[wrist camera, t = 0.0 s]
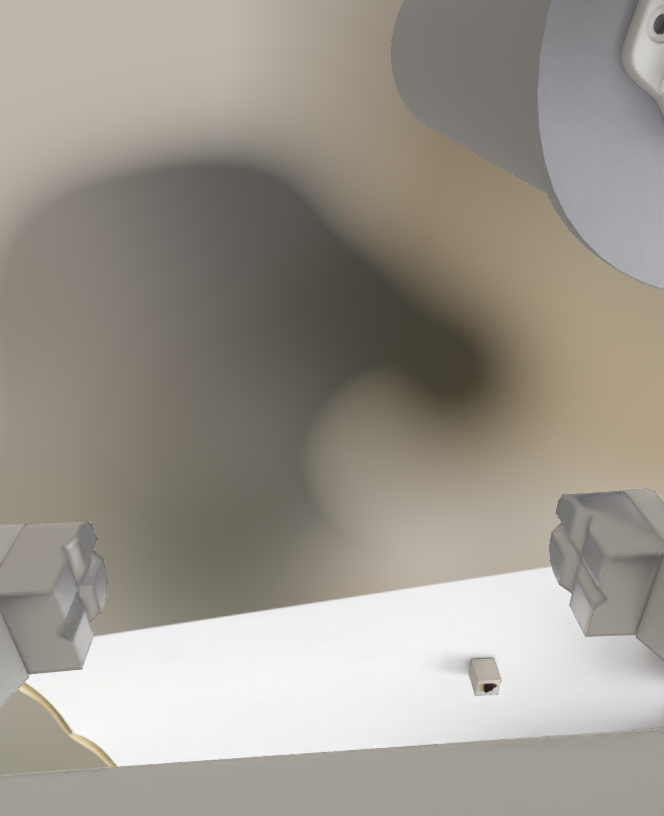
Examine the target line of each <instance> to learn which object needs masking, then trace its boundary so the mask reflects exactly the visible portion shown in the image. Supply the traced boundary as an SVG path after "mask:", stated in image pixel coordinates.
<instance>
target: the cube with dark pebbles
mask: <svg viewBox="0 0 664 816" xmlns="http://www.w3.org/2000/svg"><path fill="white" fill-rule="evenodd" d="M469 676H470V680H471V684H472V687H473V690H474V694H475V696H482V695H498V692H499V687H500V683H501V677H500V674H499V671H498V668H497V665H496V662H495V659H494V658H487V659H472V660H471V665H470V670H469Z"/></svg>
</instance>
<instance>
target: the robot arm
mask: <svg viewBox="0 0 664 816" xmlns="http://www.w3.org/2000/svg"><path fill="white" fill-rule="evenodd" d="M659 15H661V16H662V18H663V26H662V28H661V30H660V31H659V32H658V33H656V32H655V31H654V28H653V25H654V21H655V19H656V18H657V17H658V16H659ZM621 61H622V65H623V68H624V70H625V71H626V73H627V74H628V76H629V77H630V78H631V79H632V80H633V81H634V82H635V83H636V84H637V85H638V86H639V87H640V88H641V89H643V90H644V91H645V92H646V93H647V94H649V95H650V96H651V97H652V98H654V100H655V101H656V103H657V105H658V107H659V109H660V111H661V113H662V116H663V119H664V0H639V1H638V4H637V6H636V9H635V12H634V15H633V18H632V21H631V23H630V26H629V29H628V32H627V35H626V38H625V41H624V44H623V47H622V53H621ZM556 514H557V516H558V518H559V519H560V521H561V523H560V524H559V525H558V526H557V527H556V528H555V529H554V530H553V531H552V532H551V538H550V544H549V551H550V562H551V566H552V569H553V572H554V575H555V577H556V579H557V581H558V583H559V585H560V586H562V587H563V588H565V589H566V590H568V591H569V592H571V593H572V596H571V600H570V604H569V605H570V607H571V609H572V611H573V613H574V615H575V617H576V619H577V621H578V623H579V625H580V627H581V629H582V631H583V633H584V635H585V637H590V636H617V635H636V638H637V639H638V640H640V641H641V642H642V643H643V644H644V645H646V646H647V647H648V648H649V649H651V650H652V651H653V652H654V653H655V654H657V655H658V656H659V657H660V658H661V659H663V660H664V502H663V501H662V500H661V499H660V497H659V496H658V495H657V494H656V493H655V492H654V491H652V490H650V489H648V488H642V489H630V490H619V491H610V492H594V493H580V494H579V493H578V494H563V495H562V496H561V498H560V499H559V501H558V504H557V509H556ZM96 542H97V536H96V533H95V530H94V527H93V524H91V523H89V522H87V521H83V522H53V523H29V524H10V525H0V707H1V706H2V705H3V704H4V703H5V702H6V701H7V700H8V698H10V697H11V695H12V694H13V693H14V692H15V691H16V690H17V689H18V688H19V687H20V686H21V685H22V684H23V683H24V682H25V681H26V680H27V679H28V678H29V676H28V674H38V673H49V672H59V671H70V670H81V669H82V668H83V665H84V662H85V660H86V657H87V654H88V651H89V648H90V645H91V642H92V639H93V637H94V633H93V630H92V627H91V624H90V623H91V622H92V621H93V620H94V619H95V618H96V617H98V616H99V615H100V614H101V613H102V610H103V607H104V603H105V600H106V593H107V584H108V579H107V570H106V566H105V562H104V559H103V558H102V557H101V556H100V555H98V554H97V553H96V552H95V551H93V549H94V547H95V544H96ZM0 816H664V728H657V729H643V730H629V731H614V732H600V733H586V734H572V735H558V736H544V737H531V738H517V739H503V740H489V741H475V742H461V743H447V744H433V745H419V746H405V747H390V748H376V749H362V750H347V751H333V752H319V753H305V754H290V755H276V756H262V757H248V758H233V759H219V760H205V761H191V762H177V763H162V764H148V765H134V766H120V767H106V768H92V769H78V770H65V771H50V772H35V773H21V774H8V775H0Z"/></svg>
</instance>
